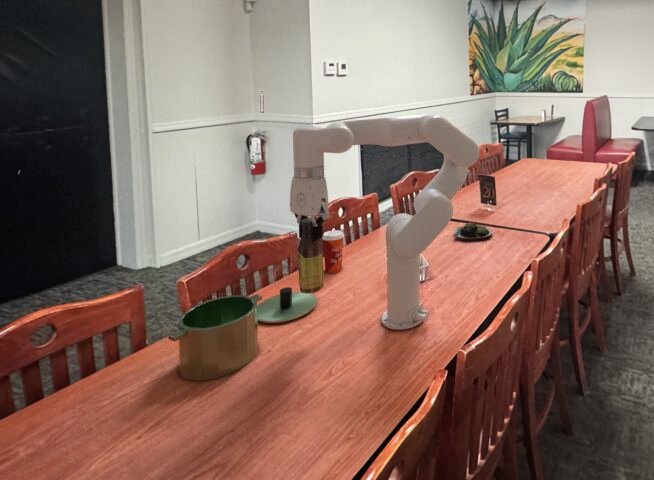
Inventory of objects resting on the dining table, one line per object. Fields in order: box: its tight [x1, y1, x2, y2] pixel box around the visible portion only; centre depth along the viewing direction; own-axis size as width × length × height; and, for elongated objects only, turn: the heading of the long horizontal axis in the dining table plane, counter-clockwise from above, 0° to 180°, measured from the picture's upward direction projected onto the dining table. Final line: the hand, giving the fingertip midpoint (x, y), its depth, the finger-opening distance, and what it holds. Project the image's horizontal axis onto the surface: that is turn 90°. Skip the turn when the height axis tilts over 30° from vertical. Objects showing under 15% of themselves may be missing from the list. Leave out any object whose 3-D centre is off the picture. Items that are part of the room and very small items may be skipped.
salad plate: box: [453, 222, 493, 242], centre depth 207 cm, size 19×18×5 cm
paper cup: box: [321, 229, 345, 274], centre depth 167 cm, size 8×8×14 cm
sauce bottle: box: [297, 217, 325, 294], centre depth 123 cm, size 7×6×20 cm
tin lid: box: [257, 286, 318, 324], centre depth 139 cm, size 18×18×6 cm
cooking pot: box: [168, 293, 263, 381], centre depth 115 cm, size 17×22×12 cm
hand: (310, 237), depth 122 cm, fingers closed on sauce bottle, 4 cm apart
